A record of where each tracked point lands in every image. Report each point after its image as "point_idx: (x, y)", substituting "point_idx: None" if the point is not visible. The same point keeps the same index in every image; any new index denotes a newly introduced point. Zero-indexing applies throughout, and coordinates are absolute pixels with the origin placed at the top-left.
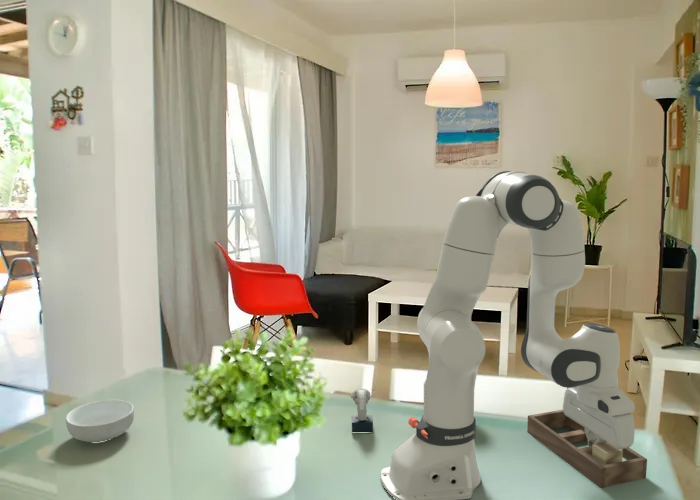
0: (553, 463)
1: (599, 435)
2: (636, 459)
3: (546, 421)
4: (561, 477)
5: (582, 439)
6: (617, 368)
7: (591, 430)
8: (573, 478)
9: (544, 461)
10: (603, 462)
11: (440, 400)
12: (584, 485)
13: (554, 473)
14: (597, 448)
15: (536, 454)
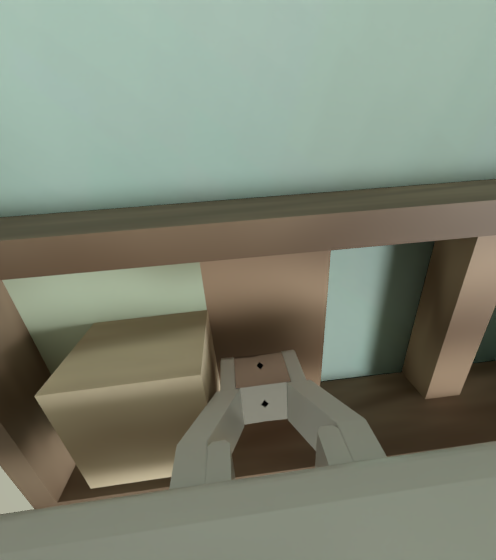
0: (299, 100)
1: (97, 525)
2: (35, 486)
3: None
4: (123, 35)
5: (410, 364)
6: None
7: (246, 502)
8: (105, 118)
9: (341, 49)
10: (101, 335)
11: None
12: (17, 138)
13: (182, 14)
14: (142, 377)
15: (435, 50)
